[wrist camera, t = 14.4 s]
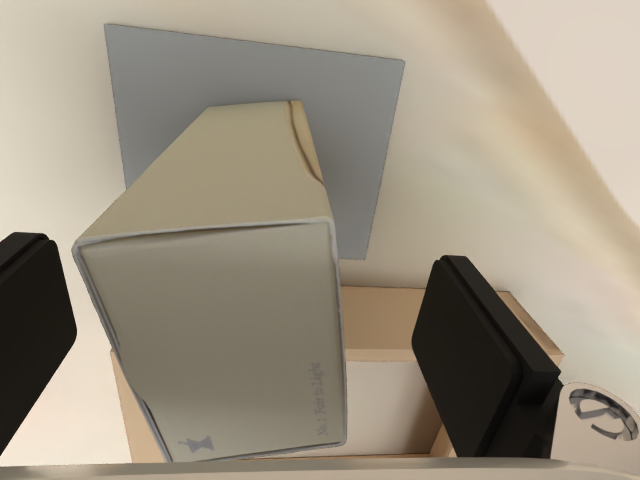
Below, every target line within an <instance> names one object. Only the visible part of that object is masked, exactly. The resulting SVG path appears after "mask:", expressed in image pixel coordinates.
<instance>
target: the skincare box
mask: <svg viewBox="0 0 640 480" xmlns="http://www.w3.org/2000/svg"><path fill="white" fill-rule="evenodd" d="M71 251H72V255H73V258H74V261H75V263H76V265H77V267H78V269H79V272H80V274H81V276H82V278H83V281H84V283H85V285H86V287H87V290H88V293H89V295H90V297H91V300H92V303H93V305H94V307H95V309H96V311H97V313H98V315H99V318H100V321H101V324H102V326H103V328H104V330H105V332H106V335H107V337H108V339H109V341H110V344H111V346H112V348H113V350H114V353H115V356H116V358H117V361H118V363H119V365H120V368H121V370H122V372H123V375H124V377H125V379H126V381H127V383H128V385H129V387H130V389H131V391H132V393H133V395H134V397H135V399H136V401H137V403H138V405H139V408H140V410H141V412H142V414H143V416H144V418H145V420H146V422H147V424H148V427H149V429H150V431H151V432H152V435H153V437H154V439H155V441H156V443H157V446H158V447H159V449H160V451H161V453H162V456H163V458H164V460H165V463H166V462H211V461H230V460H238V459H245V458H254V457H263V456H270V455H277V454H286V453H294V452H299V451H306V450H314V449H322V448H330V447H337V446H342V445H344V444H345V443H346V438H347V385H346V359H345V342H344V325H343V311H342V298H341V286H340V274H339V261H338V252H337V242H336V230H335V223H334V219H333V216H332V212H331V208H330V205H329V201H328V197H327V193H326V190H325V186H324V182H323V178H322V174H321V170H320V167H319V163H318V159H317V155H316V152H315V148H314V144H313V141H312V136H311V133H310V129H309V125H308V122H307V118H306V114H305V111H304V108H303V104H302V102H301V101H300V100H293V101H274V102H259V103H246V104H233V105H223V106H212V107H208V108H206V109H205V110H204V111H203V113H202V114H201V115H200V116H199V117H198V118H197V119H196V120H195V121H194V122H193V123H192V124H191V125H190V126H189V127H188V128H187V129H185V131H184V132H183V133H182V134H181V135H180V136H179V137H178V138H177V139H176V140H175V141H174V142H173V143H172V144H171V145H170V146H169V147H168V148H167V149H166V150H165V151H164V152H163V153H162V154H161V155H160V156H159V157H158V158H157V159H156V160H155V161H154V162H153V163H152V164H151V165H150V166H149V167H148V168H147V169H146V171H145V172H144V173H143V174H142V175H141V176H140V177H139V178H138V179H137V180H136V181H135V182H134V183H133V184H132V185H131V186H130V187H129V188H128V189H127V190H126V191H125V192H124V193H123V194H122V195H121V196H120V197H119V198H118V199H117V200H116V201H115V202H114V203H113V204H112V205H111V206H110V207H109V208H108V209H107V210H106V211H105V212H104V213H103V214H102V215H101V216H100V217H99V218H98V219H97V220H96V221H95V222H94V223H93V224H92V225H91V226H90V227H89V228H88V229H87V230H86V231H85V232H84V233H83V234H82V235H81V236H80V237H79V238H78V239H77V240H76V241H75V243H74V245H73V247H72V249H71Z"/></svg>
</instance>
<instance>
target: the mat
mask: <svg viewBox="0 0 640 480" xmlns="http://www.w3.org/2000/svg"><path fill="white" fill-rule="evenodd" d="M104 29H105V37H106V44H107V51H108V59H109V66H110V73H111V81H112V88H113V95H114V103H115V110H116V118H117V125H118V132H119V140H120V147H121V154H122V162H123V169H124V176H125V184H126V190H127V189H128V188H129V187H130V186H131V185H132V184H133V183H134V182H135V181H136V180H137V179H138V178H139V177H140V176H141V175H142V174H143V173H144V172H145V171H146V169H147V168H148V167H149V166H150V165H151V164H152V163H153V162H154V161H155V160H156V159H157V158H158V157H159V156H160V155H161V154H162V153H163V152H164V151H165V150H166V149H167V148H168V147H169V146H170V145H171V144H172V143H173V142H174V141H175V140H176V139H177V138H178V137H179V136H180V135H181V134H182V133H183V132H184V131H185V129H187V128H188V127H189V126H190V125H191V124H192V123H193V122H194V121H195V120H196V119H197V118H198V117H199V116H200V115H201V114H202V113H203V111H204V110H205V109H206V108H208V107H212V106H223V105H233V104H246V103H259V102H274V101H293V100H300V101H301V102H302V104H303V108H304V111H305V114H306V118H307V122H308V125H309V129H310V133H311V136H312V141H313V144H314V148H315V152H316V155H317V159H318V163H319V167H320V170H321V174H322V178H323V182H324V186H325V190H326V193H327V197H328V201H329V205H330V208H331V212H332V216H333V219H334V223H335V230H336V242H337V252H338V258H339V259H361V260H365V257H366V253H367V248H368V243H369V238H370V233H371V228H372V223H373V218H374V213H375V208H376V203H377V198H378V193H379V188H380V183H381V179H382V174H383V169H384V164H385V159H386V154H387V149H388V144H389V139H390V134H391V129H392V124H393V119H394V114H395V110H396V105H397V100H398V95H399V90H400V85H401V80H402V75H403V70H404V65H405V61H403V60H396V59H388V58H380V57H372V56H364V55H356V54H348V53H339V52H331V51H323V50H315V49H307V48H299V47H291V46H283V45H275V44H267V43H259V42H251V41H243V40H235V39H226V38H218V37H210V36H202V35H194V34H186V33H178V32H170V31H162V30H154V29H146V28H138V27H130V26H121V25H113V24H104Z"/></svg>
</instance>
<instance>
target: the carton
mask: <svg viewBox="0 0 640 480" xmlns="http://www.w3.org/2000/svg"><path fill="white" fill-rule="evenodd" d="M425 290H426V289H413V288H383V287H353V286H341V298H342V311H343V325H344V342H345V359H346V361H417V359H416V357H415V355H414V352H413V349H412V345H411V339H412V334H413V331H414V327H415V324H416V321H417V317H418V314H419V310H420V307H421V304H422V300H423V297H424V294H425ZM495 292H496V293H497V294H498V295H499V297H500V298H501V299H502V300H503V301H504V303H505V304H506V305H507V306H508V307H509V309H510V310H511V311H512V312H513V314H514V315H515V316H516V317H517V318H518V320H519V321H520V322H521V323H522V324H523V326H524V327H525V328H526V329H527V331H528V332H529V333H530V334H531V335H532V337H533V338H534V339H535V340H536V341H537V343H538V344H539V345H540V346H541V347H542V349H543V350H544V351H545V352H546V354H547V355H548V356H549V357H550V358H551V360H552V361H553V362H554V363H555V364H556V366H557V367H558V365H559V364H560V362H561V360H562V358H563V357H564V354H563V353H562V352H561V351H560V350H559V348H558V347H557V346H556V345H555V344H554V343H553V341H552V340H551V339H550V338H549V337H548V336H547V335H546V333H545V332H544V331H543V330H542V329H541V328H540V327H539V325H538V324H537V323H536V322H535V321H534V320H533V319H532V317H531V316H530V315H529V314H528V313H527V312H526V310H525V309H524V308H523V307H522V306H521V305H520V304H519V302H518V301H517V300H516V299H515V298H514V297H513V296H512V294H511V293H510V292H503V291H495ZM110 355H111V360H112V364H113V369H114V374H115V379H116V384H117V389H118V394H119V399H120V404H121V409H122V414H123V419H124V424H125V429H126V434H127V439H128V444H129V448H130V453H131V458H132V463H165V460H164V458H163V456H162V453H161V451H160V449H159V447H158V446H157V443H156V441H155V439H154V437H153V435H152V432H151V431H150V429H149V427H148V424H147V422H146V420H145V418H144V416H143V414H142V412H141V410H140V408H139V405H138V403H137V401H136V399H135V397H134V395H133V393H132V391H131V389H130V387H129V385H128V383H127V381H126V379H125V377H124V375H123V372H122V370H121V368H120V365H119V363H118V361H117V358H116V356H115V353H114V350H113V348H112V349H111V351H110ZM433 457H457V456H456V453H455V451H454V448H453V446H452V444H451V441H450V439H449V436H448V434H447V432H446V429H445V427H444V424H443V423H442V425H441V427H440V430H439V432H438V435H437V437H436V439H435V442H434V444H433V446H432V449H431V451H430V454H401V455H370V456H340V457H309V458H279V459H248V460H230V461H258V460H307V459H369V458H433Z"/></svg>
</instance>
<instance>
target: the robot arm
mask: <svg viewBox="0 0 640 480" xmlns="http://www.w3.org/2000/svg"><path fill="white" fill-rule="evenodd" d="M76 336H77V327H76V323H75V319H74V315H73V310H72V306H71V302H70V298H69V294H68V289H67V285H66V281H65V277H64V273H63V268H62V264H61V260H60V256H59V252H58V247H57V244H56V243H55V241H53V240H49V238H48V237H47V235H45V234H43V233H25V232H14V233H12V234H10V235H9V236H8V237H6V238H5V239H4V240H2V241H1V242H0V456H1V454H2V453H3V451H4V450H5V448H6V446H7V445H8V443H9V442H10V440H11V439H12V437H13V436H14V434H15V433H16V431H17V430H18V428H19V427H20V425H21V424H22V422H23V421H24V419H25V417H26V416H27V414H28V413H29V411H30V410H31V408H32V407H33V405H34V404H35V402H36V401H37V399H38V398H39V396H40V395H41V393H42V392H43V390H44V388H45V387H46V385H47V384H48V382H49V381H50V379H51V378H52V376H53V375H54V373H55V372H56V370H57V369H58V367H59V366H60V364H61V363H62V361H63V359H64V358H65V356H66V355H67V353H68V352H69V350H70V349H71V347H72V346H73V344H74V342H75V340H76ZM411 345H412V349H413V352H414V355H415V357H416V359H417V362H418V364H419V367H420V369H421V371H422V374H423V376H424V379H425V381H426V383H427V386H428V388H429V391H430V393H431V395H432V398H433V400H434V403H435V405H436V407H437V410H438V412H439V415H440V417H441V420H442V422H443V424H444V427H445V429H446V432H447V434H448V436H449V439H450V441H451V444H452V446H453V448H454V451H455V453H456V456H457V457H433V458H369V459H307V460H258V461H211V462H166V463H124V464H87V465H49V466H12V467H0V480H640V417H639V415H638V414H637V413H636V412H635V411H634V410H633V409H632V408H631V407H630V406H629V405H627V404H626V403H625V402H623V401H622V400H620V399H619V398H618V397H616V396H615V395H613V394H611V393H609V392H607V391H605V390H604V389H601V388H598V387H596V386H593V385H590V384H585V383H580V382H578V383H569V384H567V385H565V386H564V385H563V384H562V383H561V382H560V380H559V379H558V376H559V375H560V373H561V371H560V369H559V368H558V367H557V366H556V364H555V363H554V362H553V361H552V360H551V358H550V357H549V356H548V355H547V354H546V352H545V351H544V350H543V349H542V347H541V346H540V345H539V344H538V343H537V341H536V340H535V339H534V338H533V337H532V335H531V334H530V333H529V332H528V331H527V329H526V328H525V327H524V326H523V324H522V323H521V322H520V321H519V320H518V318H517V317H516V316H515V315H514V314H513V312H512V311H511V310H510V309H509V307H508V306H507V305H506V304H505V303H504V301H503V300H502V299H501V298H500V297H499V295H498V294H497V293H496V292H495V291H494V289H493V288H492V287H491V286H490V284H489V283H488V282H487V281H486V280H485V278H484V277H483V276H482V275H481V274H480V272H479V271H478V270H477V269H476V268H475V266H474V265H473V264H472V263H471V261H470V260H469V259H468V258H467V257H466V256H453V255H444V256H442V257H441V258H440V260H436V261H435V262H434V264H433V267H432V270H431V273H430V277H429V280H428V284H427V287H426V290H425V294H424V297H423V300H422V304H421V307H420V310H419V314H418V317H417V321H416V324H415V327H414V331H413V334H412V339H411Z"/></svg>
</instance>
